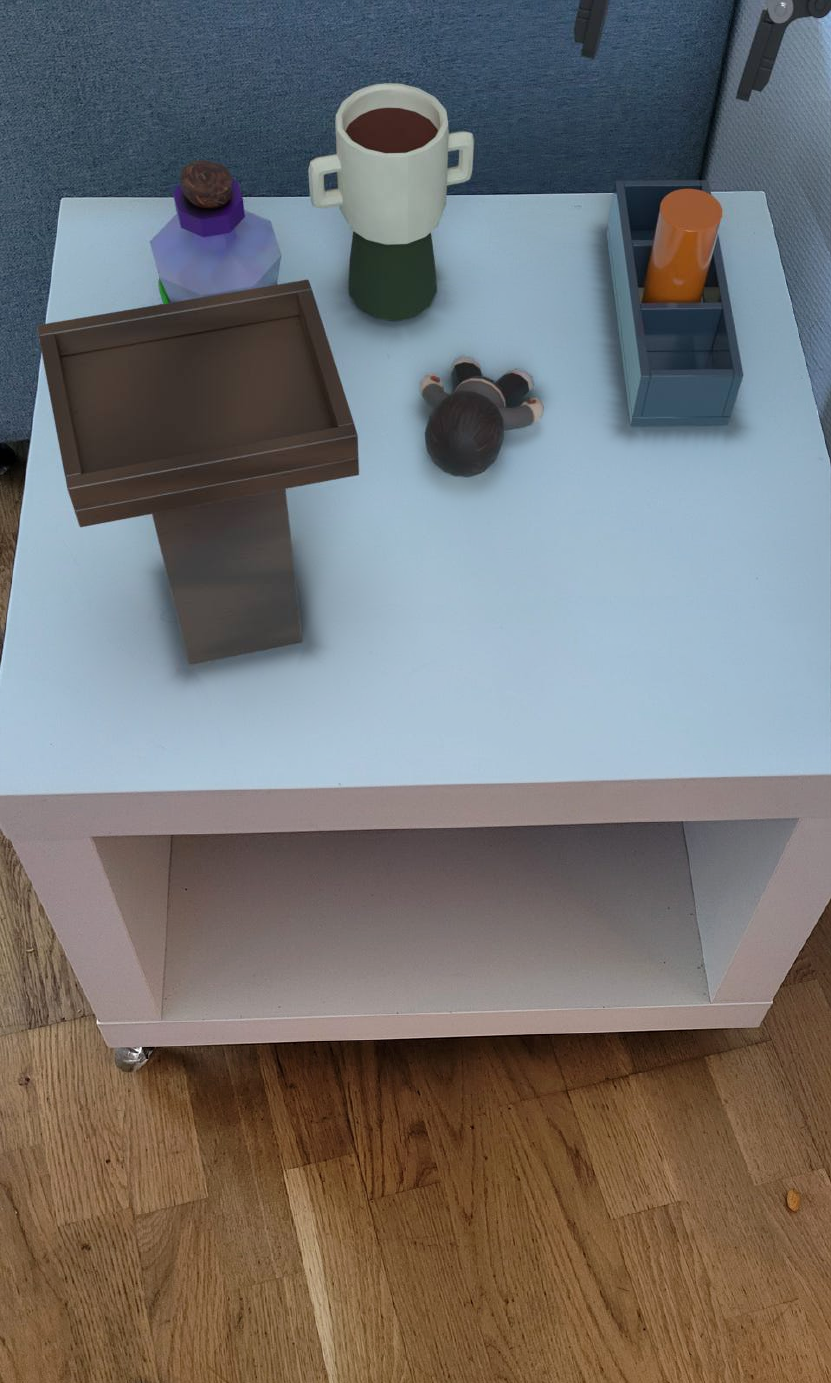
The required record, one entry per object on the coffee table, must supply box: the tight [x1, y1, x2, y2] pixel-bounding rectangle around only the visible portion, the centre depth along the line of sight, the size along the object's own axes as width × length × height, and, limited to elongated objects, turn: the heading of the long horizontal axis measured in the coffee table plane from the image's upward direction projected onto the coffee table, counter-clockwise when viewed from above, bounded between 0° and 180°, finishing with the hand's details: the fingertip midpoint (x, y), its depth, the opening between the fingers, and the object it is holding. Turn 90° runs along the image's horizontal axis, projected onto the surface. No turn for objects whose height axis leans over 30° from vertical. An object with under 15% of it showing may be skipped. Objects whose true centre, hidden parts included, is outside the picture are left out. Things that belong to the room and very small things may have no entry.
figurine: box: [419, 355, 544, 478], centre depth 85 cm, size 8×5×10 cm
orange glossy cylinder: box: [640, 189, 724, 304], centre depth 87 cm, size 4×4×8 cm
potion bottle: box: [149, 159, 282, 304], centre depth 85 cm, size 9×9×12 cm
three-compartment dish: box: [606, 179, 744, 427], centre depth 89 cm, size 7×19×4 cm, turn 1°
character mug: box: [307, 82, 475, 322], centre depth 86 cm, size 11×7×13 cm, turn 106°
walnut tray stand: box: [36, 279, 360, 666], centre depth 72 cm, size 14×11×18 cm
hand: (666, 75), depth 70 cm, fingers open, 8 cm apart
